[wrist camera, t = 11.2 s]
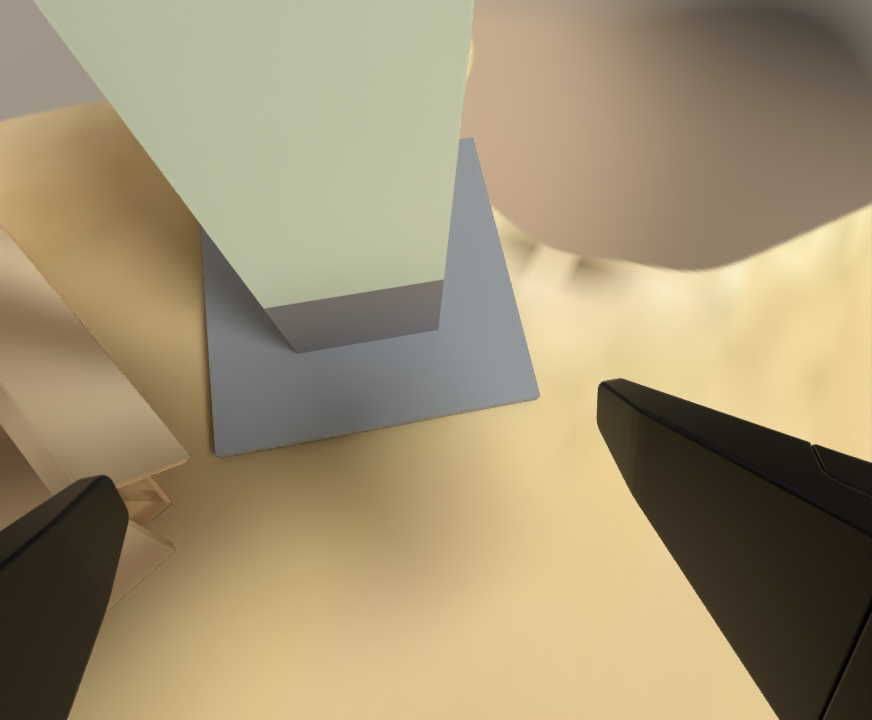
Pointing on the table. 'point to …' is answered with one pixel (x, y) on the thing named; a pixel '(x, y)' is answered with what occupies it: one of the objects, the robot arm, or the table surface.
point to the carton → (74, 417)
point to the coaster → (371, 348)
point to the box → (298, 142)
